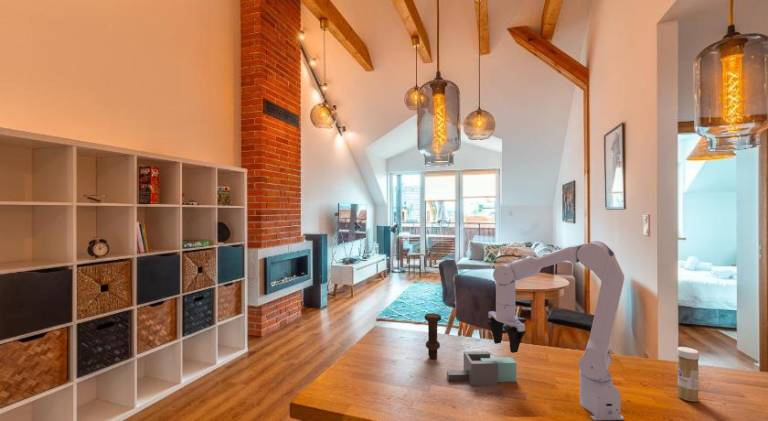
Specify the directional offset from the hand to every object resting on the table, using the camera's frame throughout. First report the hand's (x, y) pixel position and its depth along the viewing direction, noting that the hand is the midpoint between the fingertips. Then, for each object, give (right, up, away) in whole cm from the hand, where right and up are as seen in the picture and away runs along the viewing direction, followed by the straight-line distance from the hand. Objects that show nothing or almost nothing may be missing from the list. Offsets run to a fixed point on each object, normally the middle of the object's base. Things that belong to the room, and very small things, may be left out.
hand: (505, 347), depth 109 cm
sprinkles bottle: (+46, -10, -12) cm, 49 cm away
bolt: (-20, -10, +15) cm, 27 cm away
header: (-11, -10, 0) cm, 15 cm away
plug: (-2, -10, 0) cm, 10 cm away
